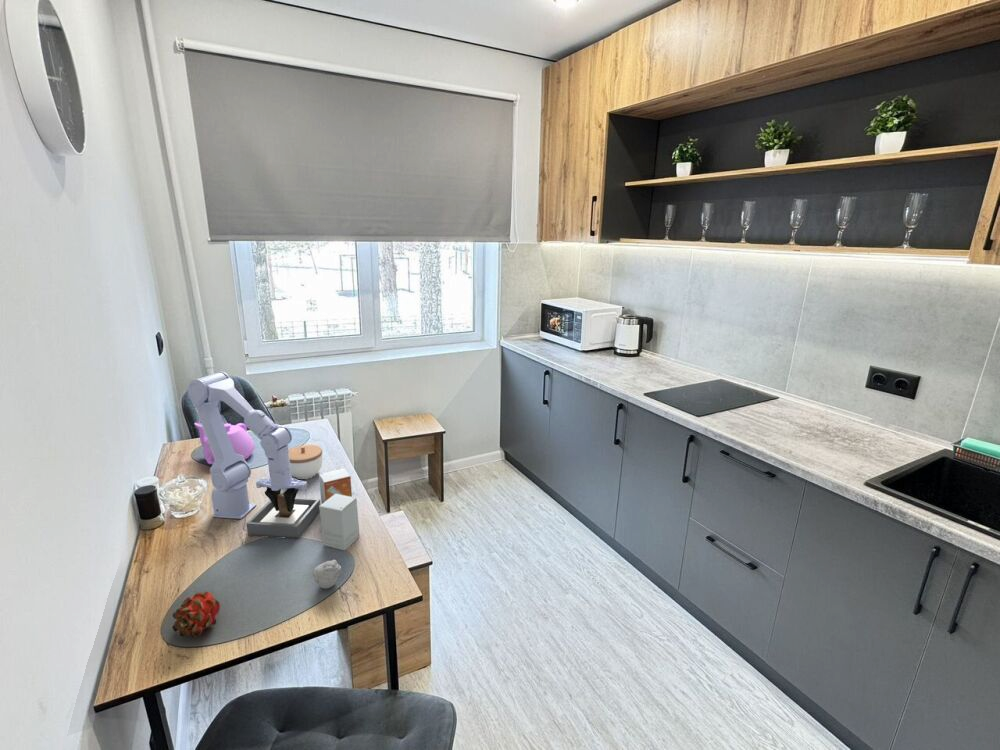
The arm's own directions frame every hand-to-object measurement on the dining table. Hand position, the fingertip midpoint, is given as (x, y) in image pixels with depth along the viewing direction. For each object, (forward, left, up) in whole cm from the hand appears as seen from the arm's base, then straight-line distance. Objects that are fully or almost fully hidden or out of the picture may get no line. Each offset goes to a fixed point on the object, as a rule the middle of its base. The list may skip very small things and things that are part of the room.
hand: (284, 509), depth 143 cm
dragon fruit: (+1, -40, -5) cm, 40 cm away
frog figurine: (+24, -25, -5) cm, 35 cm away
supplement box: (+20, -7, -5) cm, 22 cm away
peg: (0, 0, -2) cm, 2 cm away
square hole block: (0, 0, -4) cm, 4 cm away
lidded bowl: (-8, +29, -5) cm, 30 cm away
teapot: (-45, +39, -5) cm, 60 cm away
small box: (+13, +7, -5) cm, 15 cm away
